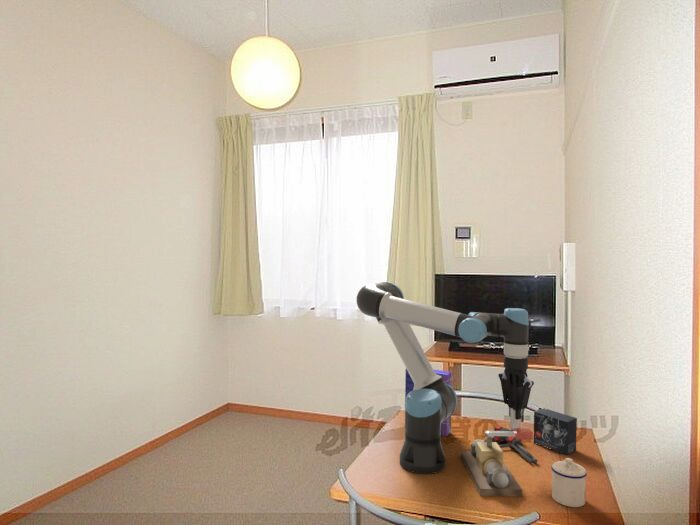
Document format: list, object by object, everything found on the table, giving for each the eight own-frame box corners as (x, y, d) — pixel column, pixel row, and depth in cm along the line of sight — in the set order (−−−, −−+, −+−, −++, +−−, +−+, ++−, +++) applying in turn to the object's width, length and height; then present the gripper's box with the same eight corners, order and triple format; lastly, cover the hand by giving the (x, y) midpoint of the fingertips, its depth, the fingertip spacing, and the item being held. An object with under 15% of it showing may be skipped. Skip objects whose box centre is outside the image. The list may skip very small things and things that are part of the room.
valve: (474, 441, 180) (510, 433, 182) (507, 476, 154) (549, 466, 156) (472, 425, 179) (508, 418, 181) (505, 457, 154) (547, 448, 156)
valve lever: (486, 438, 146) (486, 431, 146) (483, 435, 149) (483, 427, 149) (532, 439, 146) (532, 432, 146) (529, 436, 149) (529, 428, 149)
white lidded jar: (593, 507, 129) (594, 465, 129) (563, 509, 128) (564, 467, 128) (566, 485, 141) (567, 447, 141) (538, 487, 140) (539, 449, 140)
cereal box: (450, 432, 182) (451, 371, 182) (446, 436, 178) (447, 374, 178) (409, 424, 192) (410, 365, 191) (404, 427, 187) (405, 368, 187)
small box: (532, 443, 173) (533, 411, 173) (542, 439, 177) (543, 407, 177) (567, 455, 163) (567, 421, 162) (577, 451, 167) (577, 417, 167)
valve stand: (480, 495, 135) (480, 454, 135) (460, 456, 161) (461, 422, 161) (522, 496, 135) (522, 455, 134) (496, 457, 161) (496, 422, 160)
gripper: (540, 358, 148) (539, 432, 149) (508, 351, 160) (508, 420, 160) (523, 361, 145) (522, 436, 145) (492, 353, 157) (491, 423, 157)
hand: (514, 427), depth 153 cm, fingers closed
